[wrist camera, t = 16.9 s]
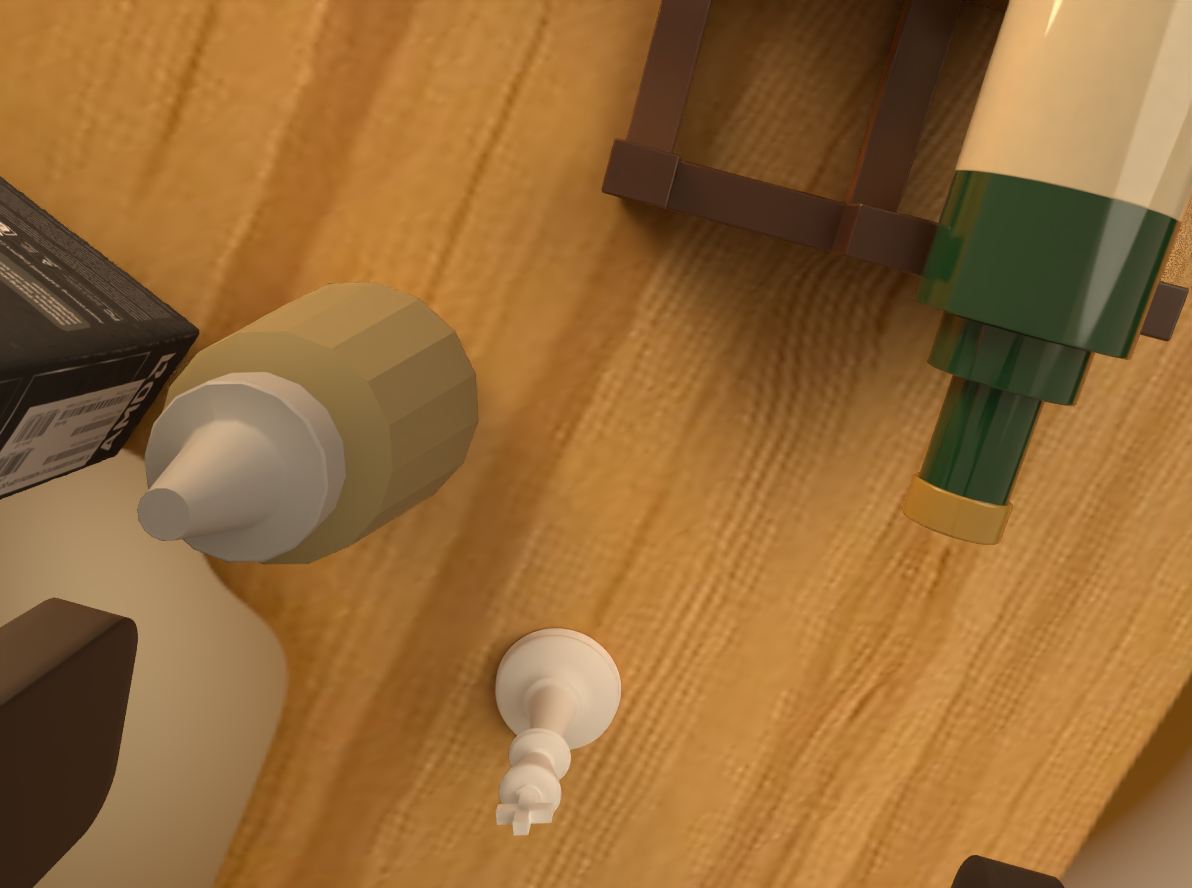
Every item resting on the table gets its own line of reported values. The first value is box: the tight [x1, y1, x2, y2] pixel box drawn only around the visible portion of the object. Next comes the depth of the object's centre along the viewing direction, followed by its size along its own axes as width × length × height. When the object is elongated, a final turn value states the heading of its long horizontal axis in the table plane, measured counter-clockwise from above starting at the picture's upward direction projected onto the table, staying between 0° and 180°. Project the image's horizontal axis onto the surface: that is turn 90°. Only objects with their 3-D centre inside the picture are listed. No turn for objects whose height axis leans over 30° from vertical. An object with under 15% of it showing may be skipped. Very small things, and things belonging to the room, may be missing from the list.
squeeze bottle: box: [137, 282, 478, 564], centre depth 32 cm, size 8×8×18 cm
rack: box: [602, 0, 1189, 341], centre depth 34 cm, size 11×17×6 cm, turn 76°
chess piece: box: [495, 628, 621, 835], centre depth 37 cm, size 5×5×10 cm
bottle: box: [902, 0, 1192, 545], centre depth 30 cm, size 18×6×6 cm, turn 166°
